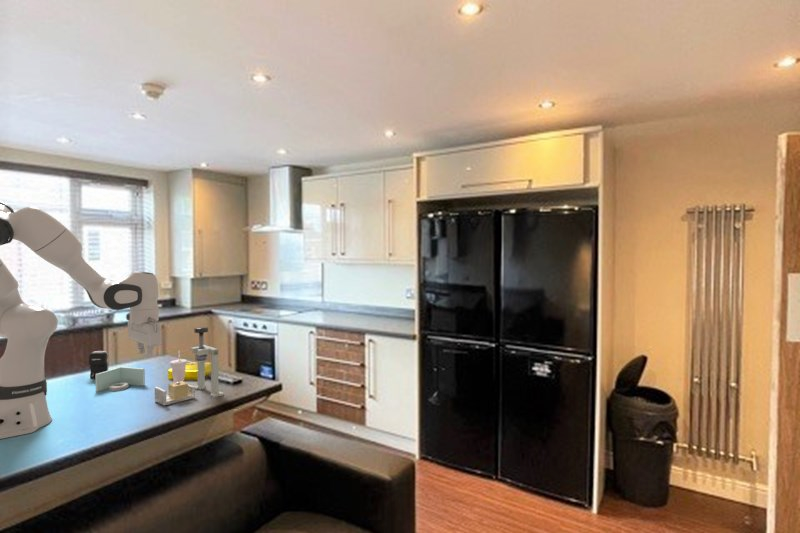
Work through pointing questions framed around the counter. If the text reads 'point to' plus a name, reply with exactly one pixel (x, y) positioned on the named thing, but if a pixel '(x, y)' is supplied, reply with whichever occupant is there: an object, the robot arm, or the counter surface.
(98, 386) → the l-shaped corner panel
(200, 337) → the ram
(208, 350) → the press frame
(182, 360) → the smoothie
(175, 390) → the tan wooden cube
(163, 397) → the bed
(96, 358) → the black backpack
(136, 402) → the counter surface
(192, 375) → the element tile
